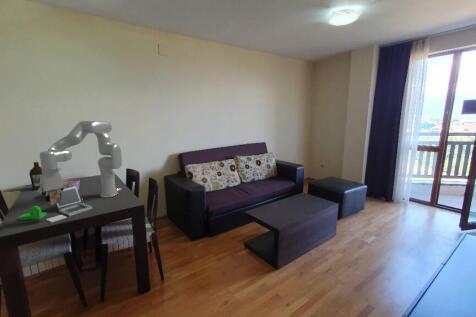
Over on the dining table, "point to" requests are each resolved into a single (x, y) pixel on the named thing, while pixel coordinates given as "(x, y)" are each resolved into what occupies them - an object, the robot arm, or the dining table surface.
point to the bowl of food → (71, 183)
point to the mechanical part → (33, 214)
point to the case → (71, 201)
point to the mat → (56, 218)
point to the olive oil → (35, 176)
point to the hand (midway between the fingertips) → (53, 200)
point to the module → (54, 197)
